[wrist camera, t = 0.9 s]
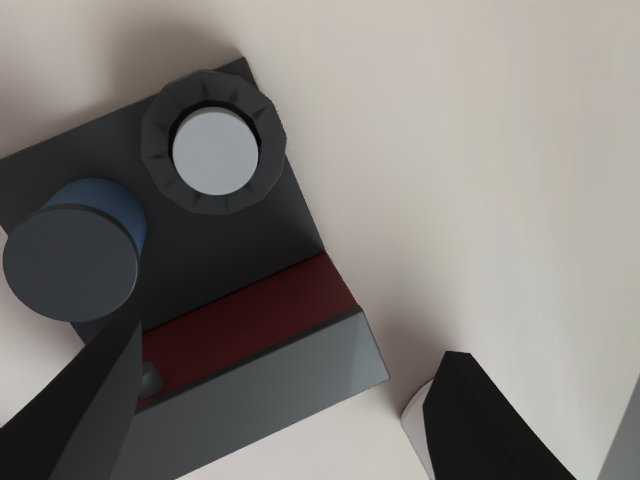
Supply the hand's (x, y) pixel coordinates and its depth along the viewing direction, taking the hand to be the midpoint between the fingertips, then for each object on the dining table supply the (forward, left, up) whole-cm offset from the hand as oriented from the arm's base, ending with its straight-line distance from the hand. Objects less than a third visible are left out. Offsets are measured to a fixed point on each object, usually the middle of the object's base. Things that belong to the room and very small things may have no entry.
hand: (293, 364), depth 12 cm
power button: (0, +3, -14) cm, 14 cm away
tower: (-4, -7, -16) cm, 18 cm away
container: (-7, +2, -16) cm, 17 cm away
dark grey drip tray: (-4, +1, -16) cm, 17 cm away
